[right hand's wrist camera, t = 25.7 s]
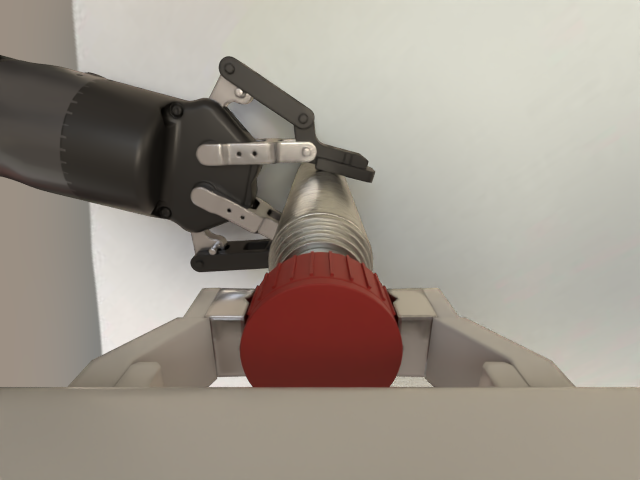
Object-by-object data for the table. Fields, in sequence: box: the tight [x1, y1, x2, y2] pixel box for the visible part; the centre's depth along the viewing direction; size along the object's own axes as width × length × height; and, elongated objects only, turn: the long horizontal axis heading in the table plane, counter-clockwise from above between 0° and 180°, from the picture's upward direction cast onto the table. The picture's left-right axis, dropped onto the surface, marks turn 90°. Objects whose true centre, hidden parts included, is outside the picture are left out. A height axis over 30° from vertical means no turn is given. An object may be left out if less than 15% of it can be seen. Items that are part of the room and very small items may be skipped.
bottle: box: [268, 162, 373, 272], centre depth 19 cm, size 4×4×21 cm
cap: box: [240, 251, 403, 387], centre depth 9 cm, size 4×4×2 cm
